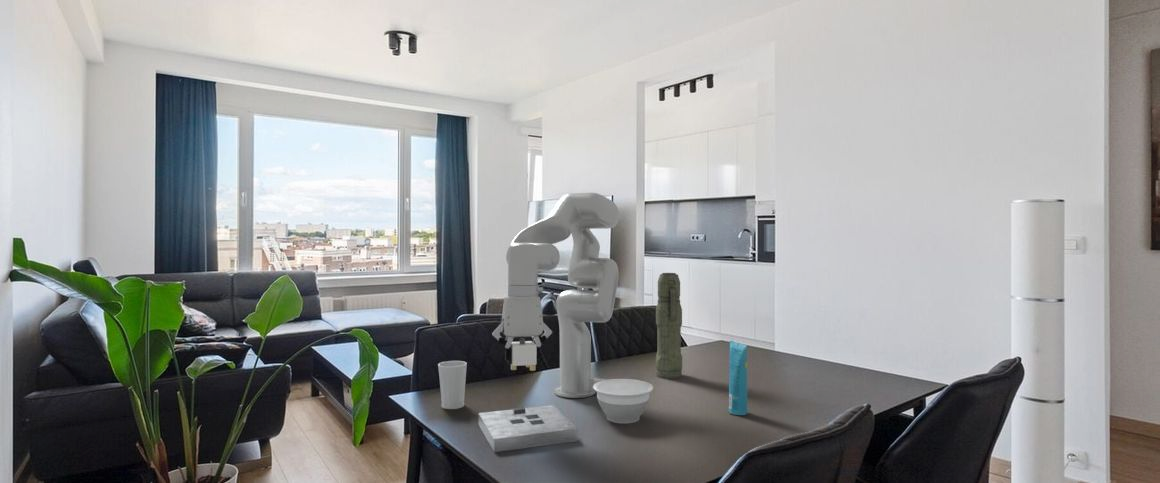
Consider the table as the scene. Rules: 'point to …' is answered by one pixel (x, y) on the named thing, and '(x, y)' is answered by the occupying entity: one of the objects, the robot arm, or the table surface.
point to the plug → (524, 354)
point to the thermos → (669, 327)
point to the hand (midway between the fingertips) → (522, 361)
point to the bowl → (623, 399)
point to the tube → (738, 379)
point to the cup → (452, 383)
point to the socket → (526, 428)
